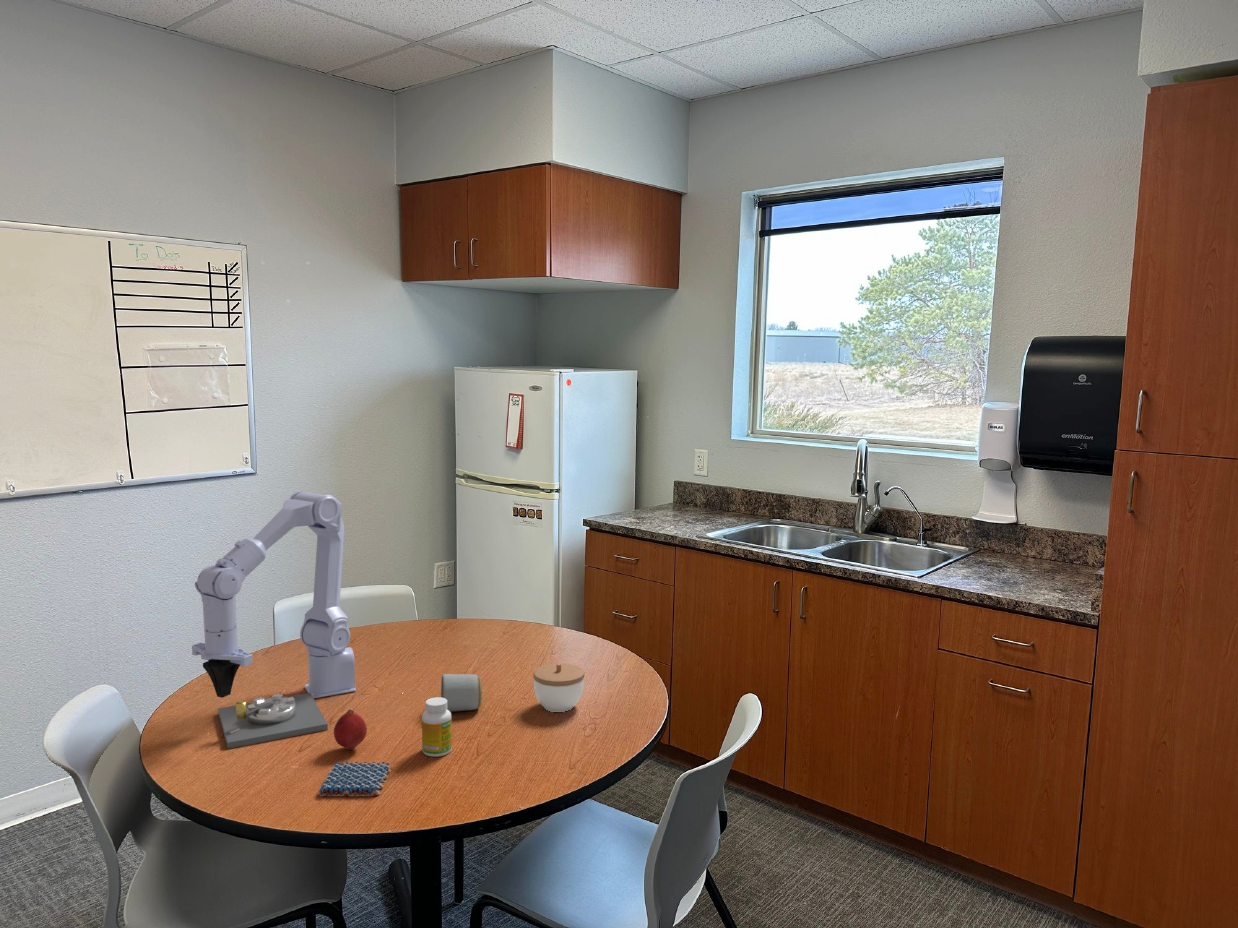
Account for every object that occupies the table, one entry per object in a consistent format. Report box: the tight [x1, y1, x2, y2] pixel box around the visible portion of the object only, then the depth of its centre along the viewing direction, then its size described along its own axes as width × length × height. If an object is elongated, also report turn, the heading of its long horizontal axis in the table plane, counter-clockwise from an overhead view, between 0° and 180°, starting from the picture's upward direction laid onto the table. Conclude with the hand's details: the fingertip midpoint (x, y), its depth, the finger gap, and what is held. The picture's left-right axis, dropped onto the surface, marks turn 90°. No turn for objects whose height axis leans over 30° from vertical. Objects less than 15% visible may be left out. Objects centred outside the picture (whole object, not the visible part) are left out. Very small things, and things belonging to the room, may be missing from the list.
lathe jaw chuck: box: [235, 693, 296, 725], centre depth 172 cm, size 12×9×5 cm
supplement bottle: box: [421, 696, 453, 758], centre depth 162 cm, size 5×5×10 cm
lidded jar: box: [533, 662, 585, 713], centre depth 183 cm, size 11×11×9 cm
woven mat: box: [317, 761, 392, 797], centre depth 150 cm, size 10×11×2 cm
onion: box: [333, 708, 368, 751], centre depth 162 cm, size 6×6×8 cm
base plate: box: [217, 692, 329, 750], centre depth 174 cm, size 18×18×1 cm
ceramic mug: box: [440, 673, 483, 713], centre depth 183 cm, size 11×8×8 cm
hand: (223, 695), depth 169 cm, fingers closed
